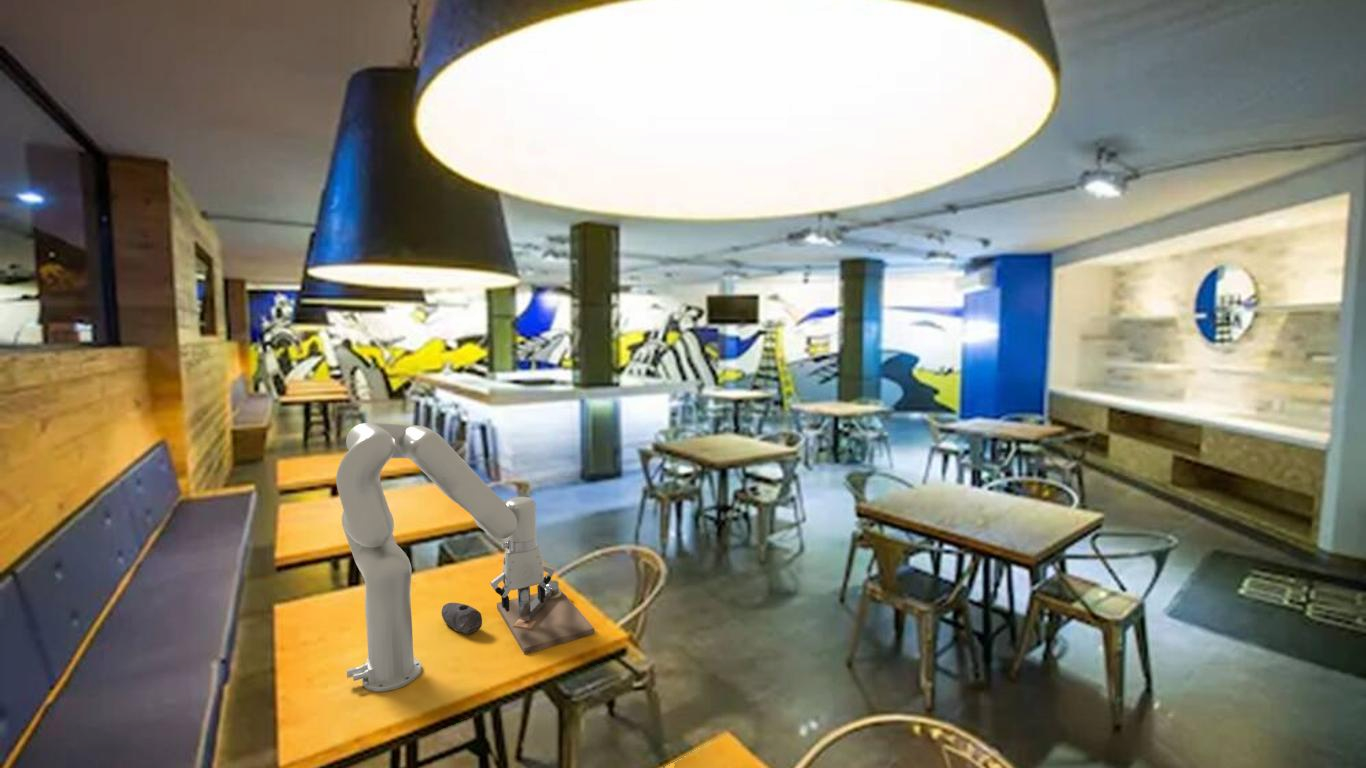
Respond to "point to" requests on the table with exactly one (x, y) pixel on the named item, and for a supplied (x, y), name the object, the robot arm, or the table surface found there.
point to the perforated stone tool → (462, 617)
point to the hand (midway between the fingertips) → (523, 604)
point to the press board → (546, 623)
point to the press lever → (531, 609)
